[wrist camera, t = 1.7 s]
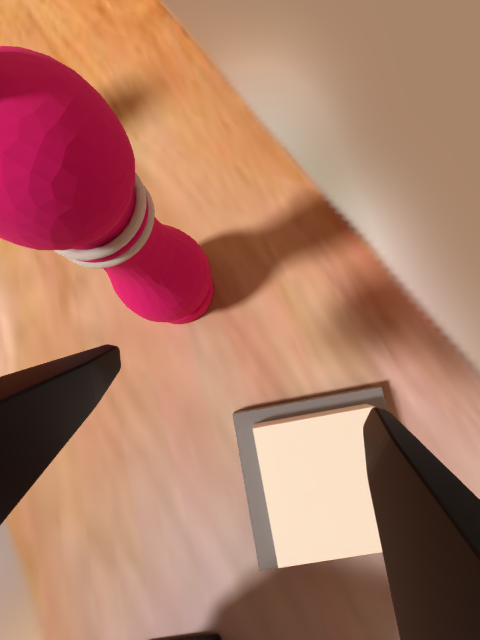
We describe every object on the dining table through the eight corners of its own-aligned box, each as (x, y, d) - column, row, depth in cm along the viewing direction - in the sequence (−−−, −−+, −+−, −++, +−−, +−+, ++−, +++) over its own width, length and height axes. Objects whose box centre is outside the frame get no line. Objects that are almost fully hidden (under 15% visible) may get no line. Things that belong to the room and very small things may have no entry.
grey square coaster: (259, 558, 20) (259, 588, 17) (234, 411, 22) (230, 418, 20) (416, 533, 20) (441, 561, 17) (374, 386, 22) (391, 388, 19)
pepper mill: (160, 247, 26) (-171, -145, 6) (229, 267, 25) (105, -123, 5) (132, 316, 25) (-377, 115, 5) (204, 339, 24) (-77, 204, 4)
